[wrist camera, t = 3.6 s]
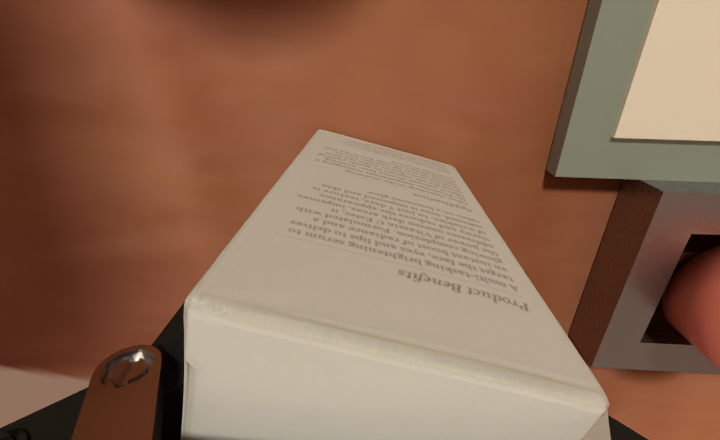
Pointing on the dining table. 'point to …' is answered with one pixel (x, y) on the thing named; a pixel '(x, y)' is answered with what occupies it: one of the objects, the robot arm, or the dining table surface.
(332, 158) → the small box
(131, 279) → the dining table surface
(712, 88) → the board
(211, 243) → the dining table surface
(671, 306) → the red rounded knob
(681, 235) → the button housing
